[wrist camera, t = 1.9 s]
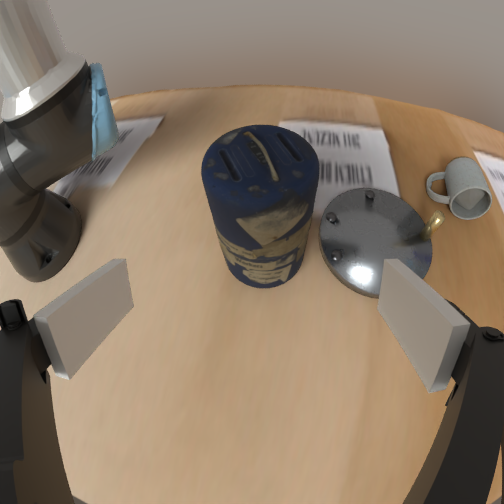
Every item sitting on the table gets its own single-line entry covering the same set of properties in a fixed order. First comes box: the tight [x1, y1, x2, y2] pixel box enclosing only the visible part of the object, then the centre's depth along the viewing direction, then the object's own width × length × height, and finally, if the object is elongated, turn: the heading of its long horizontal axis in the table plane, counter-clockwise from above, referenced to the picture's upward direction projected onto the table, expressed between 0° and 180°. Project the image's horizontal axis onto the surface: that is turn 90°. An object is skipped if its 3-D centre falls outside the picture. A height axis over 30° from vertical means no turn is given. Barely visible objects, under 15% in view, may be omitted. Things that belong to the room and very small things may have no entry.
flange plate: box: [319, 188, 445, 299], centre depth 33 cm, size 16×16×6 cm
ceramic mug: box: [426, 157, 492, 220], centre depth 36 cm, size 11×8×8 cm
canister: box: [201, 125, 319, 288], centre depth 28 cm, size 10×10×18 cm
